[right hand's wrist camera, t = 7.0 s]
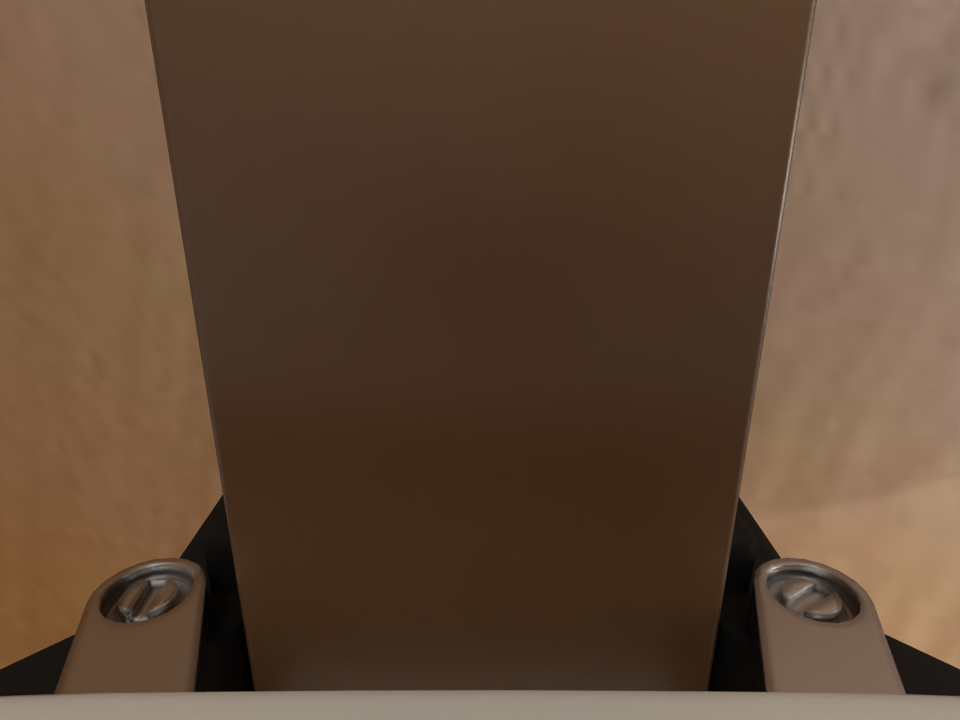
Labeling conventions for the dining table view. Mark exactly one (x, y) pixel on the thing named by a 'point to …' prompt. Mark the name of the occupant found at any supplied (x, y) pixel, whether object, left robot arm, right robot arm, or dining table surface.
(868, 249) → the dining table surface
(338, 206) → the bar
